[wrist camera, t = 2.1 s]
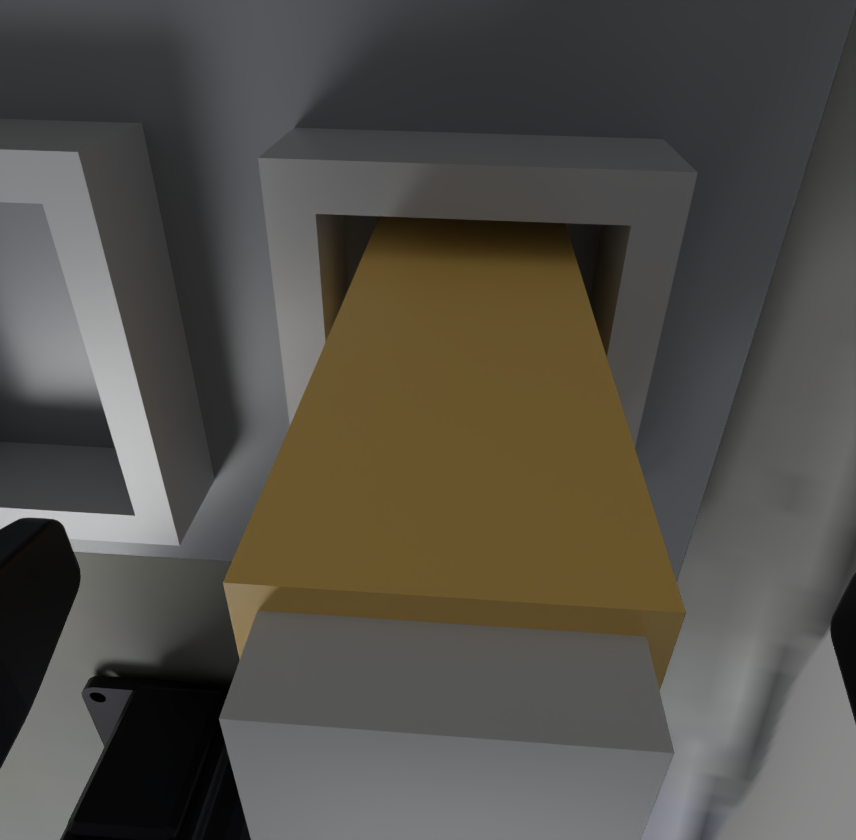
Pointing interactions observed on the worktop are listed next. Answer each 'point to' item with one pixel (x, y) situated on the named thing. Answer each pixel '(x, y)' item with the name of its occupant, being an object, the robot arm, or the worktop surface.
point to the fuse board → (367, 219)
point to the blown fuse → (454, 565)
